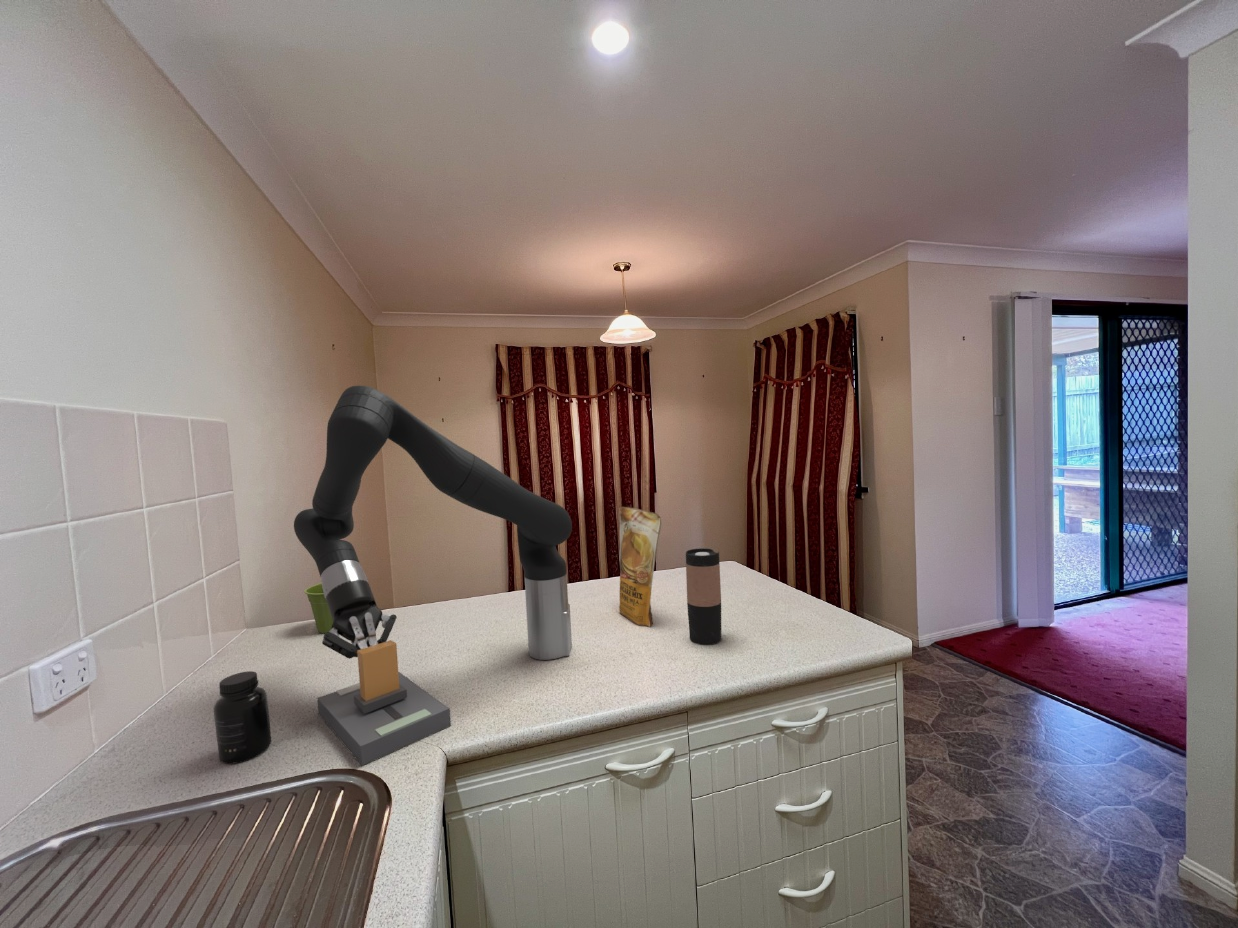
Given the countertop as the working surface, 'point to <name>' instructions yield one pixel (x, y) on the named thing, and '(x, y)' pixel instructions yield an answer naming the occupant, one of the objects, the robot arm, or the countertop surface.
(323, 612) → the plant pot
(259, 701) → the supplement bottle
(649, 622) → the pancake mix bag
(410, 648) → the countertop surface
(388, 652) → the handle
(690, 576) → the travel mug
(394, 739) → the switch console
